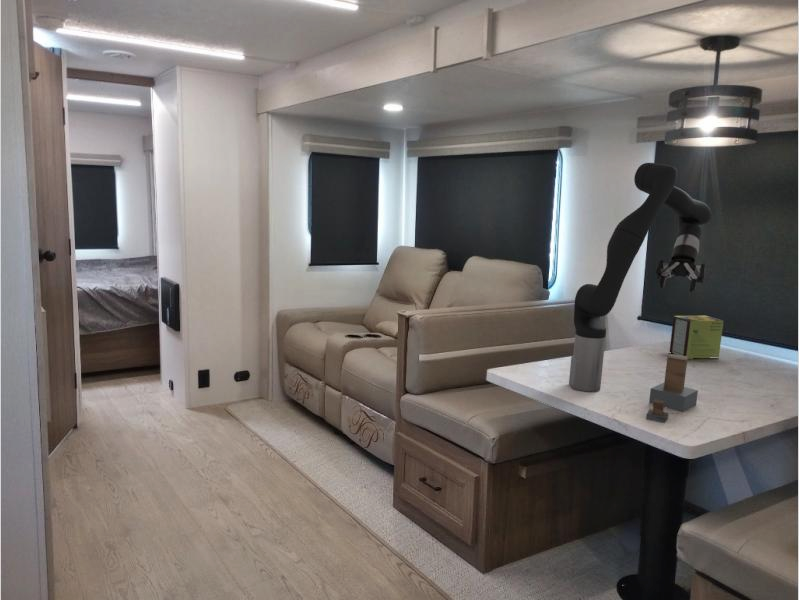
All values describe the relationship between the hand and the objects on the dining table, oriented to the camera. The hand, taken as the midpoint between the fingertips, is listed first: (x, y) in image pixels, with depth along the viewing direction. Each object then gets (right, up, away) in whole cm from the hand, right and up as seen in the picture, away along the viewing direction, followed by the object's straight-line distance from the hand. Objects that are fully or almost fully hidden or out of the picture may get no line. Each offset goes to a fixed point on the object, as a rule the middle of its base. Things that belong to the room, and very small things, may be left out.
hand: (676, 288), depth 197 cm
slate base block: (-6, -35, -11) cm, 38 cm away
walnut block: (-6, -30, -12) cm, 33 cm away
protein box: (+29, -26, +51) cm, 64 cm away
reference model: (-17, -37, -25) cm, 47 cm away
